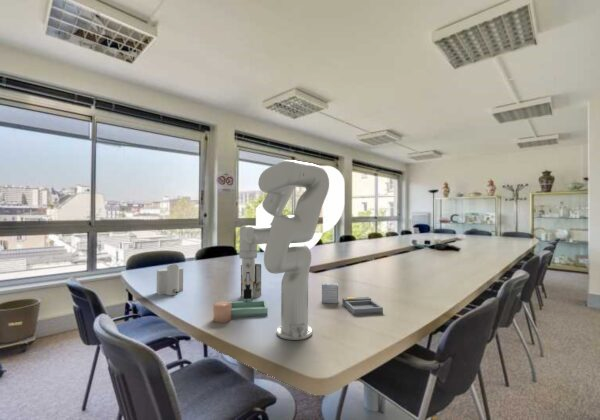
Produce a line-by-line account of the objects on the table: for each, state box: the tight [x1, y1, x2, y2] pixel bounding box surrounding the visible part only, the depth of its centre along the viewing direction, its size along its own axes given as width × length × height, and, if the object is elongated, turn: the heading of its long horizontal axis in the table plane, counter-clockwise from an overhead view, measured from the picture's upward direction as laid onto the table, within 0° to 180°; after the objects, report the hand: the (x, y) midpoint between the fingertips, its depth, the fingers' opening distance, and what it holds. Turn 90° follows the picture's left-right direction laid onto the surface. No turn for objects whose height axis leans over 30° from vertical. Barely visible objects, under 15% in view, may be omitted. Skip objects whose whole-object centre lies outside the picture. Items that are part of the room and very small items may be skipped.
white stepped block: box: [156, 263, 184, 296], centre depth 152 cm, size 12×14×15 cm
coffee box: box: [240, 263, 262, 299], centre depth 149 cm, size 9×6×16 cm
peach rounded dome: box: [212, 301, 232, 324], centre depth 115 cm, size 7×7×6 cm
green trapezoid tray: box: [230, 299, 269, 319], centre depth 124 cm, size 11×16×3 cm
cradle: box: [341, 296, 384, 316], centre depth 129 cm, size 14×13×3 cm
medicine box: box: [321, 282, 339, 304], centre depth 139 cm, size 8×4×9 cm, turn 84°
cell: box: [241, 281, 254, 302], centre depth 124 cm, size 4×4×8 cm
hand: (247, 296), depth 124 cm, fingers closed on cell, 4 cm apart
